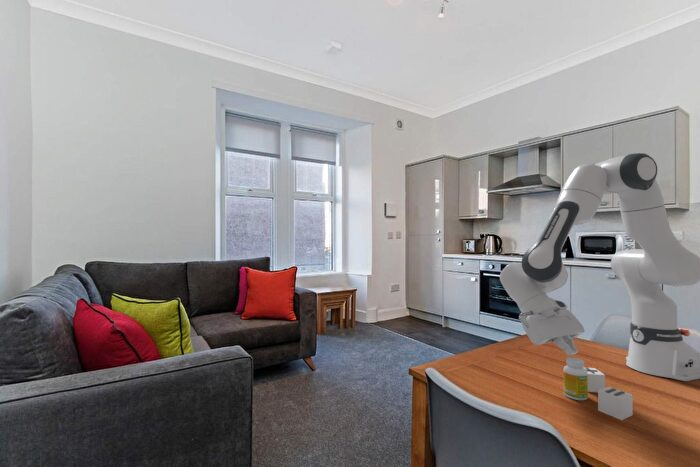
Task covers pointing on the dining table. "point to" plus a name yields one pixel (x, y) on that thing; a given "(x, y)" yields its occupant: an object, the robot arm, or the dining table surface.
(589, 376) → the marked block back
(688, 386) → the dining table surface
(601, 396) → the marked block front
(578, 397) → the supplement bottle
